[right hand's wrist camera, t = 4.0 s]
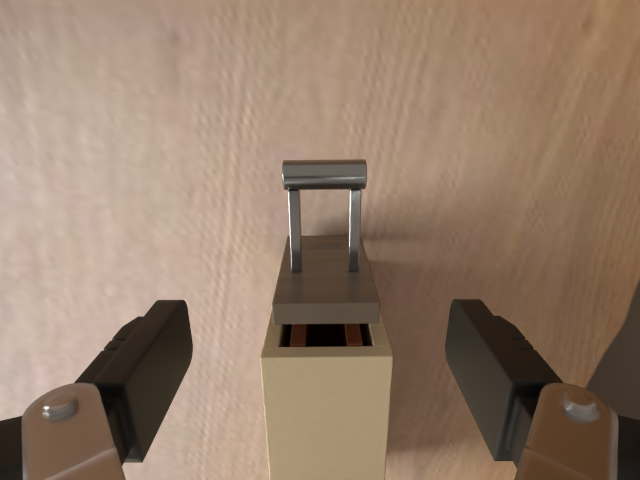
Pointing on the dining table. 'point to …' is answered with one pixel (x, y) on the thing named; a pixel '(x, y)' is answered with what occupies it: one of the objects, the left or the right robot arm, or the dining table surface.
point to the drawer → (325, 263)
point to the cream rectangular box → (326, 406)
